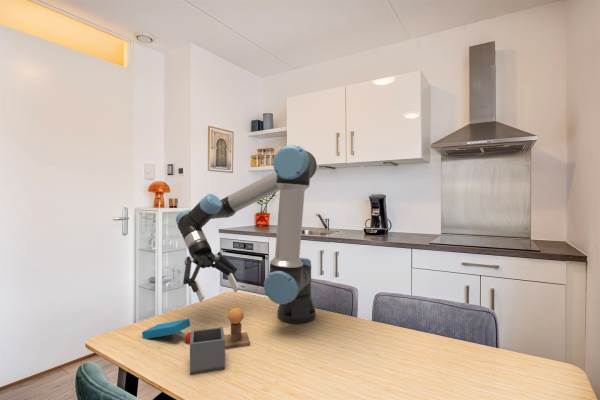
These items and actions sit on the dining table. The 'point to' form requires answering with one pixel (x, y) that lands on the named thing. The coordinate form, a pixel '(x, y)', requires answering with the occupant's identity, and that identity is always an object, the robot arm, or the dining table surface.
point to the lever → (169, 330)
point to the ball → (235, 315)
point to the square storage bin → (207, 350)
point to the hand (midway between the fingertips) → (220, 294)
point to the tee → (236, 337)
